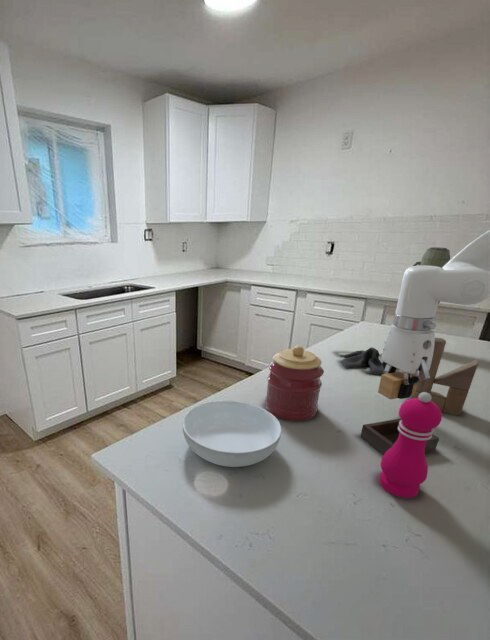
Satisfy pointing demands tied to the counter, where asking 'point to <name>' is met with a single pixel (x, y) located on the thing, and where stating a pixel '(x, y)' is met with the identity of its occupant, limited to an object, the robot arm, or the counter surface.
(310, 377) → the kitchen canister
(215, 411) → the serving bowl
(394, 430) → the socket
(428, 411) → the pepper mill
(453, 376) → the wooden block structure
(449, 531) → the counter surface
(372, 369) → the cloth
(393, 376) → the tan rectangular block
